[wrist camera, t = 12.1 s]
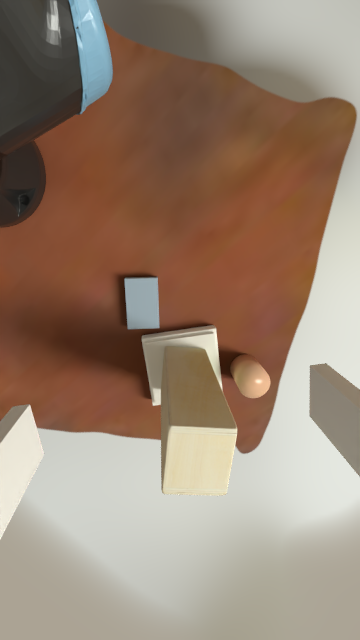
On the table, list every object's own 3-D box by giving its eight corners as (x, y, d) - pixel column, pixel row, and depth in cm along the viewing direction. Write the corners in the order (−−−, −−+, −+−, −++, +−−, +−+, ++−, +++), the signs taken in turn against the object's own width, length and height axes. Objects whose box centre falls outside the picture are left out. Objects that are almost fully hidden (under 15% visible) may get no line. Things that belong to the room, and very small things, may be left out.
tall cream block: (204, 393, 50) (233, 497, 30) (160, 390, 50) (159, 495, 29) (210, 348, 48) (245, 427, 28) (164, 345, 48) (166, 423, 27)
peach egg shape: (228, 356, 52) (237, 371, 46) (257, 352, 52) (269, 366, 46) (231, 382, 53) (239, 400, 47) (259, 378, 53) (271, 395, 47)
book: (125, 277, 48) (124, 278, 46) (157, 276, 48) (157, 278, 46) (128, 325, 50) (127, 329, 48) (159, 324, 50) (159, 328, 48)
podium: (142, 335, 50) (141, 340, 47) (213, 325, 50) (216, 329, 47) (153, 399, 53) (152, 408, 50) (220, 389, 53) (223, 397, 51)
